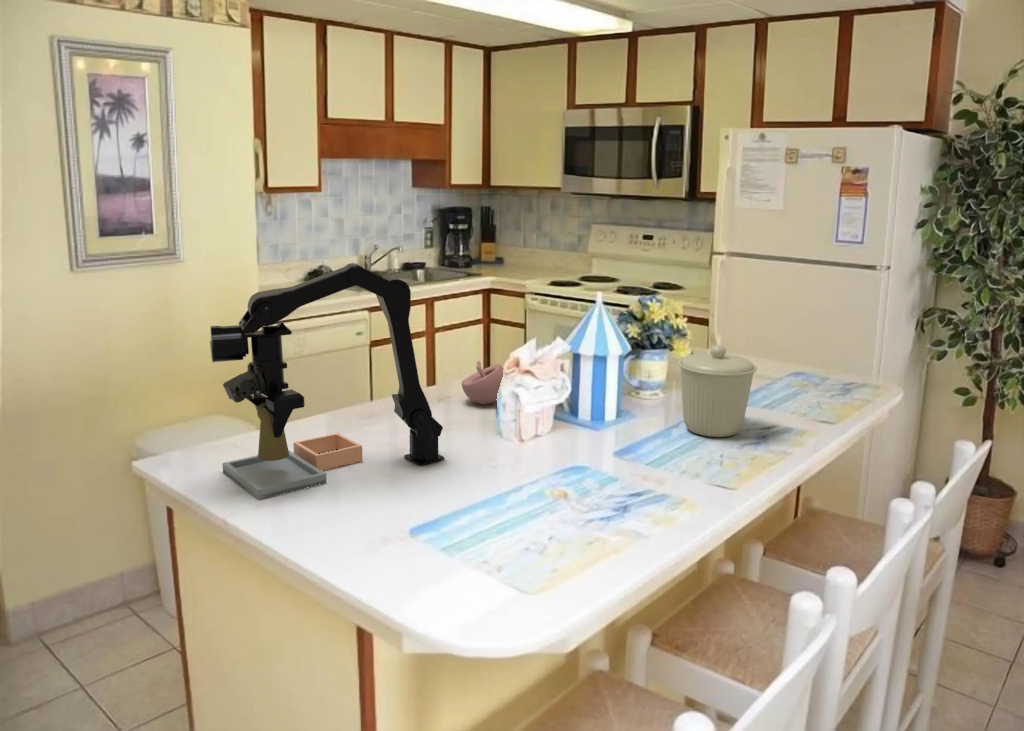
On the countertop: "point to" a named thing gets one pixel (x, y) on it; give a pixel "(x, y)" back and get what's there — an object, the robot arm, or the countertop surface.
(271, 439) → the olive tapered piece
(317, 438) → the holder
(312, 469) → the tray
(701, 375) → the canister
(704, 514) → the countertop surface
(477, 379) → the mortar and pestle
